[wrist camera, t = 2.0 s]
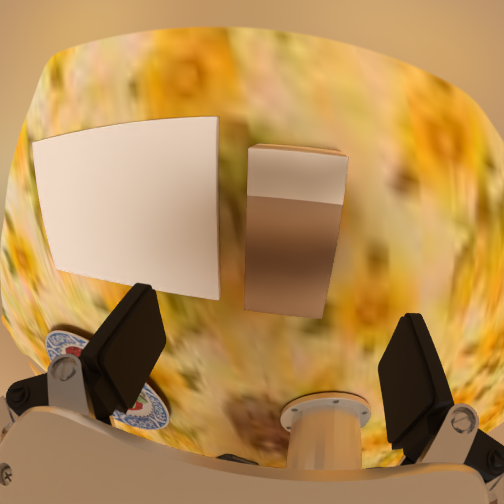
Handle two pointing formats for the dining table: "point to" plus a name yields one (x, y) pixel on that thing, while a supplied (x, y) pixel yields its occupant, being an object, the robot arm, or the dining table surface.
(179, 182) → the white rectangular board
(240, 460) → the phone
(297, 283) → the brown and beige box
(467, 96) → the dining table surface
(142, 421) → the ceramic plate
